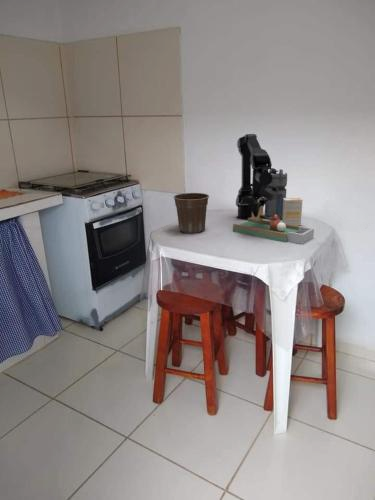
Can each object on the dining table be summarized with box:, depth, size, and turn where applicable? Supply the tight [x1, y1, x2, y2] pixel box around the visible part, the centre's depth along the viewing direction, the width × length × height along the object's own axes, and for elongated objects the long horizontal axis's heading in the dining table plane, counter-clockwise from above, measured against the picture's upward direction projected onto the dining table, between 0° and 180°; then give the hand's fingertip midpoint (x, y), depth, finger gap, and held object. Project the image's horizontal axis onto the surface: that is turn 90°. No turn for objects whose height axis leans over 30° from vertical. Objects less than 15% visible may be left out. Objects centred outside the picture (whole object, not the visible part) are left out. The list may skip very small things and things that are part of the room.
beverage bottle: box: [264, 167, 288, 220], centre depth 198 cm, size 10×13×25 cm
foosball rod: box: [251, 205, 281, 230], centre depth 176 cm, size 12×5×9 cm, turn 50°
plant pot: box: [173, 192, 210, 234], centre depth 182 cm, size 16×16×16 cm
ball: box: [277, 221, 286, 231], centre depth 172 cm, size 4×4×4 cm
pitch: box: [232, 217, 315, 245], centre depth 175 cm, size 33×14×4 cm, turn 50°
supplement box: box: [281, 197, 303, 227], centre depth 185 cm, size 8×5×13 cm, turn 84°
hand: (257, 216), depth 178 cm, fingers closed on foosball rod, 3 cm apart
